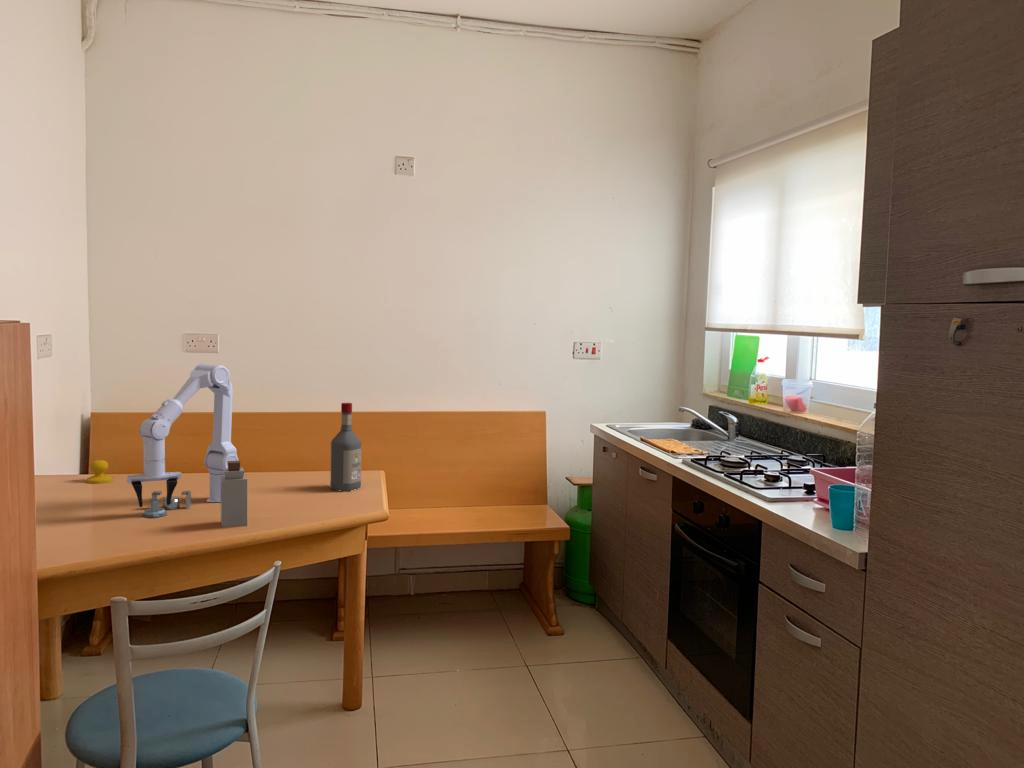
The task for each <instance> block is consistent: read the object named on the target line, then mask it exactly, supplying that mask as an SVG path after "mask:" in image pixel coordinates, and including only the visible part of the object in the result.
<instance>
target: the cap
mask: <svg viewBox="0 0 1024 768" xmlns="http://www.w3.org/2000/svg"><path fill="white" fill-rule="evenodd" d="M149 500H150V505H149V506H150V507H149V508H147V509H145V510H144V511H143V513H144V515H146V516H153V517H156V518H160V517H159V515H163V514H165V511H166V510H165V509H163V507H159V506H160V505H159V501H158V498H157V499H156V498H155V499H152V498H150V499H149Z"/></svg>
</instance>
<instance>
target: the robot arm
mask: <svg viewBox="0 0 1024 768" xmlns="http://www.w3.org/2000/svg"><path fill="white" fill-rule="evenodd" d="M203 388H208V389H209V390H210V391H212V392H213V395H214V398H213V421H212V425H213V426H212V427H213V428H212V441H211V443H210V444H209V445H208V446H207V448H206V455H204V466H205V467H206V468H207V471H208V472H209V497H208V498H207V500H206V501H205V502H206V503H221V476H225V474H224V470H223V468H228V462H227V461H240V460H239V458H238V457H239V456H238V453H237V451H238V450H237V448H236V447H235V445H233V443H232V423H233V421H232V420H233V419H232V417H233V397H234V396H233V395H234V394H233V393H234V386H233V384H232V381H231V371H230V370H229V369H228V368H227V367H226V366H224V365H222V364H219V365H218V364H217V365H216V364H207V363H199V364H197V365H196V366H195V367H194V369H193V370H191V372H190V375H189V378H188V379H187V380H186V381H185V383H184V384H183V385H182V387H181V388H180V389H179V390H178V391H177V393H176V394H175V395H174V397H173V398H169V399H166V400H163V401H162V402H161V405H160V406H159V408H158V409H157V410H156V411H155V412H154V413H152V414H151V415H150V418H147V419H145V420H143V421H142V423H141V425H140V427H139V428H138V432H139V435H140V437H141V438H142V439H141V440H142V442H143V444H142V446H143V451H142V452H143V473H140V474H138V473H137V474H131V475H126V483H127V484H131V485H132V488H133V490H134V492H135V494H136V495H135V496H136V497H137V501H138V506H139V508H142V507H143V482H145V483H146V482H147V483H148V482H157V481H166V497H167V498H166V502H167V505H169V504H170V501H171V497H172V496H173V493H174V490H175V489H176V487H177V484H178V480H182V472H180V471H172V472H171V471H166V458H165V457H166V454H165V453H166V449H165V447H166V445H165V444H166V441H165V439H166V437H168V436H169V434H170V429H171V427H172V424H174V422H176V420H177V419H178V418H179V417H180V415H182V413H183V412H184V410H183V408H184V407H183V406H184V405H185V404H187V402H188V401H189V400H190V399H191V398H192V397H193V396H194V395H195V394H196V393H197V392H198V391H200V389H203Z"/></svg>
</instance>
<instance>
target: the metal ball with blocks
mask: <svg viewBox="0 0 1024 768" xmlns="http://www.w3.org/2000/svg"><path fill="white" fill-rule="evenodd" d="M180 494H181V496H183V495H184V496H185V509H191V507H192V491H191V490H183V491H181V493H180ZM160 495H162V491H161V490H159V491H158V490H155V491H153V492H151V499H155V498H156V499H157V500H158V496H160ZM181 496H176V495H175V496H173V495H172V497H171V501H170V504H169V505H167V502H166V498H167V496H165V497H162V508H163V509H165V511H166V510H167V511H174V510H179V509H181Z"/></svg>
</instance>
